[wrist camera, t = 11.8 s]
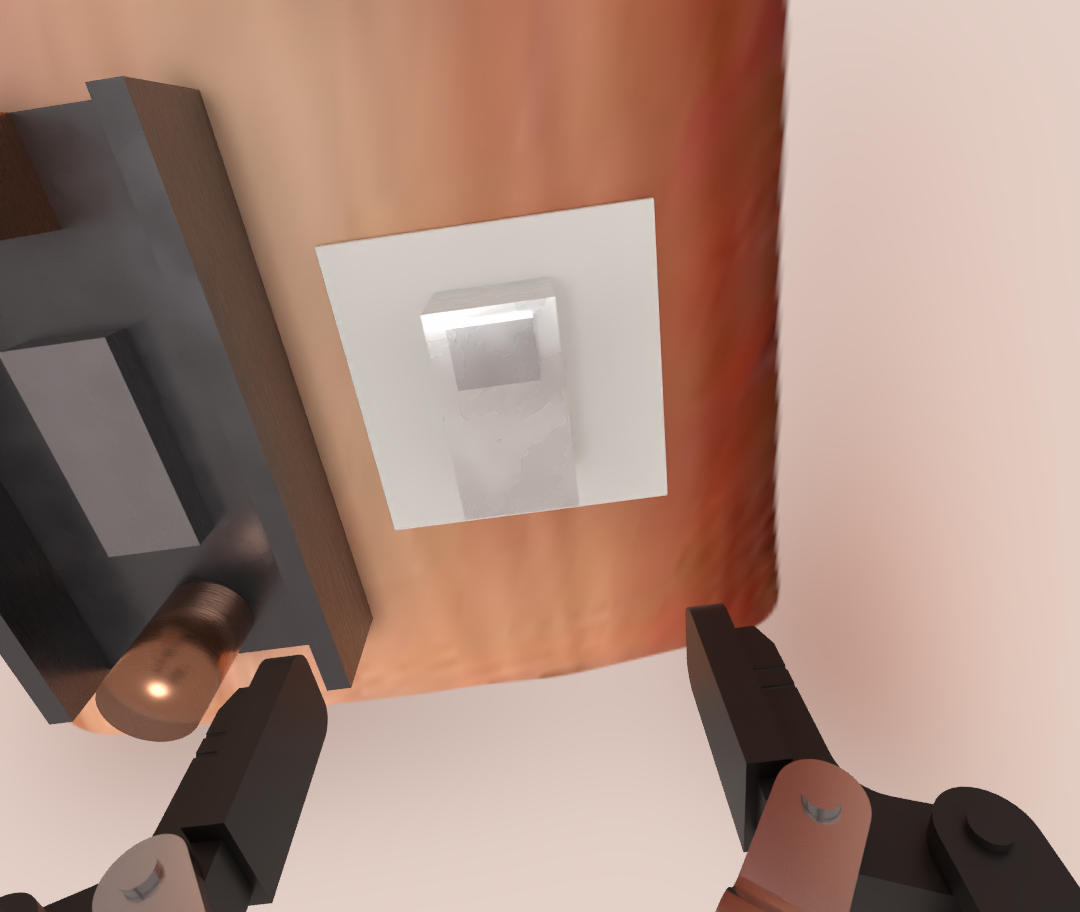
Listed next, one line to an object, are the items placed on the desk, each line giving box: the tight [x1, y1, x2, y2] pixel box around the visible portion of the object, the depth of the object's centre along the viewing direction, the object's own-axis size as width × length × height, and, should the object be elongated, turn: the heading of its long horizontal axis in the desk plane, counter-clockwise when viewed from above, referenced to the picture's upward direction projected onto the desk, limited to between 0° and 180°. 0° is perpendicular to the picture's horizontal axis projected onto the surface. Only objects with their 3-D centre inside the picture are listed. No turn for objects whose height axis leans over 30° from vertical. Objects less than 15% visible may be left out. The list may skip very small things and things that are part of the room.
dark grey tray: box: [0, 76, 373, 742], centre depth 26 cm, size 26×15×8 cm, turn 8°
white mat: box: [315, 197, 667, 530], centre depth 29 cm, size 14×14×1 cm
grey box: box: [421, 277, 580, 520], centre depth 26 cm, size 9×5×5 cm, turn 7°
